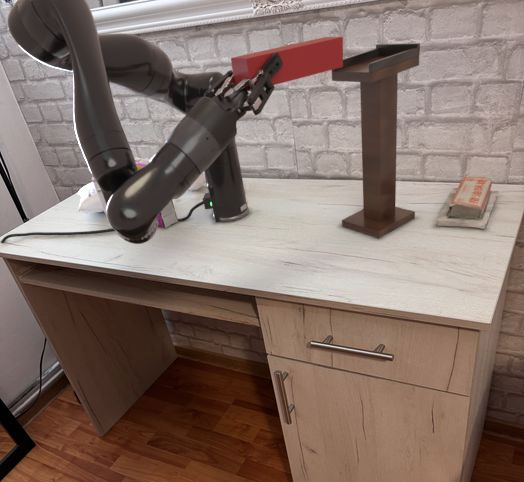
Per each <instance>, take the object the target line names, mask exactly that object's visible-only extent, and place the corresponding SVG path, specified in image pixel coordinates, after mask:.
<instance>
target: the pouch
mask: <svg viewBox="0 0 524 482" xmlns="http://www.w3.org/2000/svg"><path fill="white" fill-rule="evenodd" d="M77 195H78V196H79V197H80V202H79V205H78V207H77V212H79V213H82V214H96V213H103V212H104V209H103V207H102V204H101V202H100V199H99V197H98V194H97V192H96V189H95V187H94V184H93V182H90V183H88V184H86V185H83V187H81V188H80V189H79V191H78V192H77ZM104 213H105V212H104Z"/></svg>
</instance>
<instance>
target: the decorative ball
mask: <svg viewBox="0 0 524 482" xmlns="http://www.w3.org/2000/svg"><path fill="white" fill-rule="evenodd" d="M204 185H206V183H205V175H204V172H203V173H202V174H201V175H200V176H199V177H198V178H197V179H196V181H195V182H194V183H193V184H192V185H191V187H190V188H189V189H188V190H187V191H192V192H194V191H198V190H199V189H201V188H202V187H203V186H204Z"/></svg>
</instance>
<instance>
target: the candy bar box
mask: <svg viewBox="0 0 524 482" xmlns="http://www.w3.org/2000/svg"><path fill="white" fill-rule="evenodd" d="M134 159H135V162H136V166H137V170H139V169H141V168H142V167H144V166H145V165H146V164H148V162H149V161H150V160H151V158H145V157H142V156H141V157H140V156H134ZM157 218H158V227H161V228H163V229H167V228H169V227H171V226H173V225H175V224H176V223H179V222H178V219H179V218H178V216H177V212H176V209H175V204H174V201H173V199H172V200H171V201H170V203H169V204H168V205H167V206H166V207H165V208H164V209H163V210H162V211H161V212H160V214H159V215H158V216H157Z"/></svg>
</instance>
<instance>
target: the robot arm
mask: <svg viewBox="0 0 524 482" xmlns="http://www.w3.org/2000/svg"><path fill="white" fill-rule="evenodd" d="M7 27H8V31H9V33H10V36H11V37H12V39H13V40H14V41H15V43H16V44H17V45H18V46H19V48H20V49H22V51H24V52H25V53H26V54H27V55H28V56H30V57H31V58H33V59H34V60H36V61H38V62H40V63H42V64H43V65H46V66H48V67H51V68H55V69H59V70H63V71H67V72H72V77H73V78H72V81H73V124H74V132H75V135H76V139H77V141H78V145H79V147H80V149H81V152H82V155H83V158H84V159H85V161H86V165H87V167H88V169H89V171H90V174H91V176H92V177H94V179H95V181H96V182H97V184H98V185H99V187H100V189H101V191H102V194H103V197H104V199H105V202H106V205H107V209H106V213H107V217H106V219H107V218H108V219H107V221H109V222H108V224H109V223H110V224H109V226H110V225H111V226H112V227H113V228H107V229H98V230H87V231H86V230H85V231H53V232H52V231H51V232H49V231H47V232H45V231H44V232H43V231H32V232H23V233H22V232H21V233H10V234H7V235H6V236H4V237H3V238H2V239H1V241H0V242H1V244H4V243H5V242H6V241H7V240H9V238H14V237H15V238H16V237H30V236H82V235H95V234H106V233H111V232H115V233H117V235H118V236H119V237H120V238H121V239H123V241H125V242H127V243H130V244H134V245H141V244H145V243H147V242H149V241H151V239H152V238H153V237H154V236H155V234H156V233H157V231H158V227H159V226H158V218H157V216H158V215H159V214H160V212H161V211H162V210H163V209H164V208H165V207H166V206H167V205H168V204H169V203H170V201H171V200H172V201H173V200H178V199H180V198H181V197H182V196H184V195H185V193H187V191H189V190H188V189H189V188H190V187H191V185H192V184H193V183H194V182H195V181H196V179H197V178H198V177H199V176H200V175H201V174H202V173H203V172H204V175H205V186H206V191H207V192H205V193H204V195H203V197H202V201H200V202H198V203H196V204H195V205H193V207H192V208H190V210H189V212H188V214H187V215H186V216H184V217H182V218H177V219H178V222H177V223H180V222H185V221H187V220H189V219H190V218H191V216H192V214H193V213H194V211H195V210H196V209H198V208H199V207H201V206H204V210H211V212H212V215H213V219H214V221H215V223H227V222H235V221H237V220H238V221H239V220H240V219H242V218H245V217H246V216H247V215H248V214H249V212H250V211H249V206H248V202H247V201H248V200H247V197H246V190H245V185H244V180H243V175H242V169H241V163H240V159H239V152H238V148H237V147H238V146H237V142H236V141H237V140H236V136H237V133H238V129H237V122H238V121H239V120H240V119H242V118H243V117H244V116H245V115H246V114H247V112H252V113H253V114H254V116H258V115H260V114H261V112H262V111H263V110H264V108H265V106H266V104H267V102H268V100H269V99H270V97H271V95H272V94H273V92H274V90H275V88H276V87H275V85H273V83H272V81H271V79H272V78H273V76H274V75H275V74H276V73H277V72H278V70H279V69H280V68H281V67H282V65H283V62H282V60H281V58H280V56H279V54H278V53H273V54H272V55H271V56H270V57H269V58H268V60H267V61H266V62H265V63H264V64H263V66H262V67H261V68H260V70H258V71H257V72H256V73H255V74H254V75H253V76H252V77H251V78H250V79H249V78H248V77H246V78H244V79H243V80H242V81H241V82H240V83H239V84H238V85H236V83H235V78H234V76H233V71H232V69H229V70H228V71H226V73H225V74H223V73H222V72H220V71H205V72H197V73H184V72H181V71H179V70H176V69H174V65H173V63H172V60H171V58H170V57H169V55H168V54H167V53H166V51H164V50H163V49H162V48H160V47H159V46H157V45H156V44H155V43H153V42H151V41H149V40H147V39H145V38H144V37H141V36H139V35H136V34H132V33H119V32H118V33H101V34H99V32H98V29H97V25H96V22H95V18H94V16H93V13H92V10H91V8H90V6H89V4H88V2H87V0H16V2H15V3H14V4H13V6H12V7H11V9H10V11H9V12H8V15H7ZM256 52H257V51H256ZM256 52H255V51H254V52H253V53H256ZM258 79H259V80H258ZM257 80H258V81H257ZM255 81H257V83H256V85H255V86H254V82H255ZM111 85H115V86H117V87H119V88H122V89H124V90H126V91H128V92H131V93H134V94H136V95H139V96H140V97H144V98H148V99H151V100H153V101H155V102H158V103H162V104H166V105H168V106H169V107H171V108H172V109H175V110H176V111H178V112H180V113H182V114H183V115H184V117H183V118H182V119H181V120H180V121H179V122H178V124H177V125H176V126H175V127H174V129H173V130H172V131H171V132H170V134H169V136H168V137H167V139H166V141H165V142H164V143H163V144H162V145H161V146H160V148H158V149H157V151H156V152H155V153H154V154H153V156H152V157H150V159H151V160H150V161H149V162H148V164H146V165H145V166H144V167H142V168H141V169H139V170H137V166H136V162H135V159H134V157H135V156H134V153H133V150H132V148H131V146H130V143H129V140H128V138H127V136H126V132H125V130H124V128H123V126H122V124H121V120H120V116H119V115H118V112H117V109H116V105H115V101H114V98H113V94H112V93H113V92H112V89H111ZM245 86H248V88H249V89H250V90H251V91H250V93H249V91H247V89H246V88H245Z"/></svg>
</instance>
